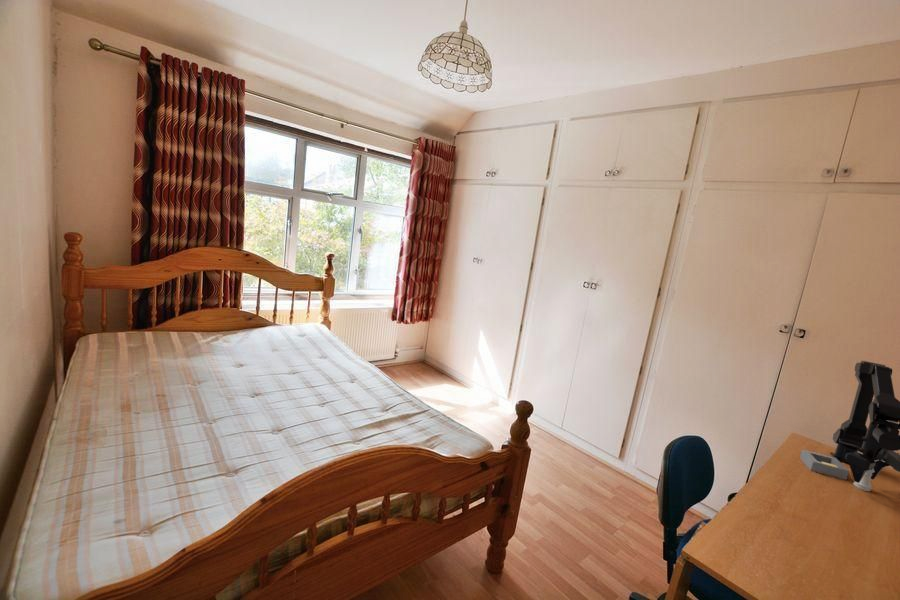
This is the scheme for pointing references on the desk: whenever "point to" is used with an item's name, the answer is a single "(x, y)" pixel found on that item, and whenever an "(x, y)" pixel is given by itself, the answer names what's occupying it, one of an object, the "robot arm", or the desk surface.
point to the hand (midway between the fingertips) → (864, 480)
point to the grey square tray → (824, 464)
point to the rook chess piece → (865, 481)
